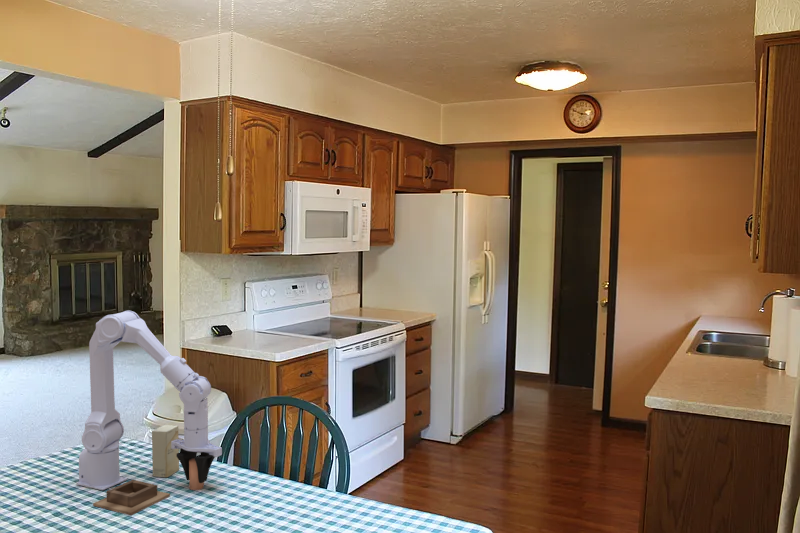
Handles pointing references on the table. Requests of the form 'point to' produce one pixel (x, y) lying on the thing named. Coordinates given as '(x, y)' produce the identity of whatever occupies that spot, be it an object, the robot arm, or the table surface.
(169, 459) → the skincare box
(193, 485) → the peg
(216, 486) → the table surface
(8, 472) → the table surface
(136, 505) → the holder
